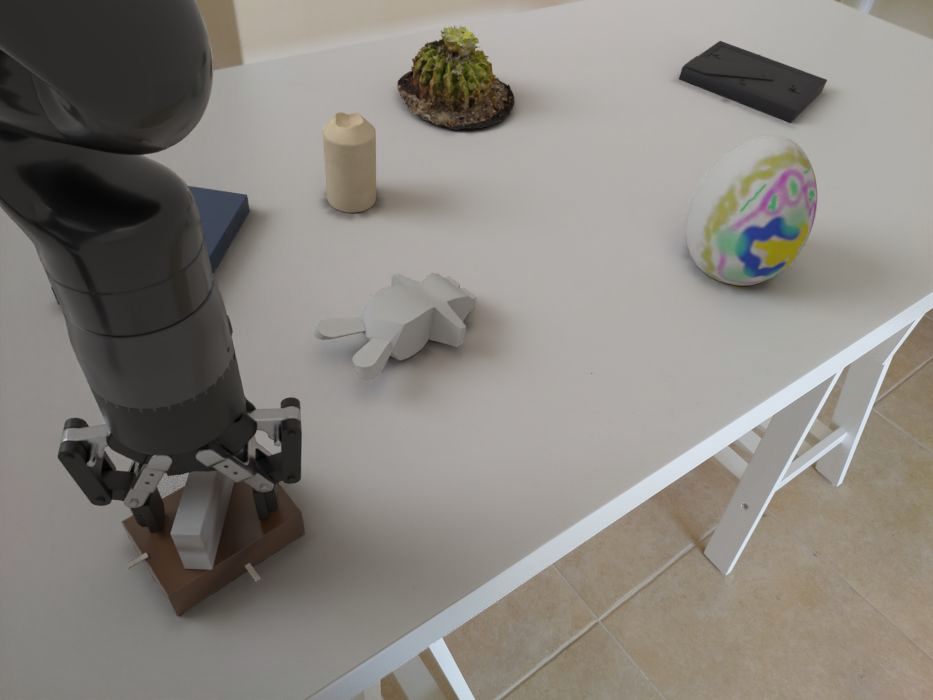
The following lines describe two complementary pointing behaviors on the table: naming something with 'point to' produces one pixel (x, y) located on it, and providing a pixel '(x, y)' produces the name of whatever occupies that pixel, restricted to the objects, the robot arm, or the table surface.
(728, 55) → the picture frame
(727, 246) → the decorative egg
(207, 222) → the button block
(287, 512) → the tap base
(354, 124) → the candle
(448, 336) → the bunny figurine
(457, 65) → the cactus
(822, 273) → the table surface
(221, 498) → the light grey narrow block
